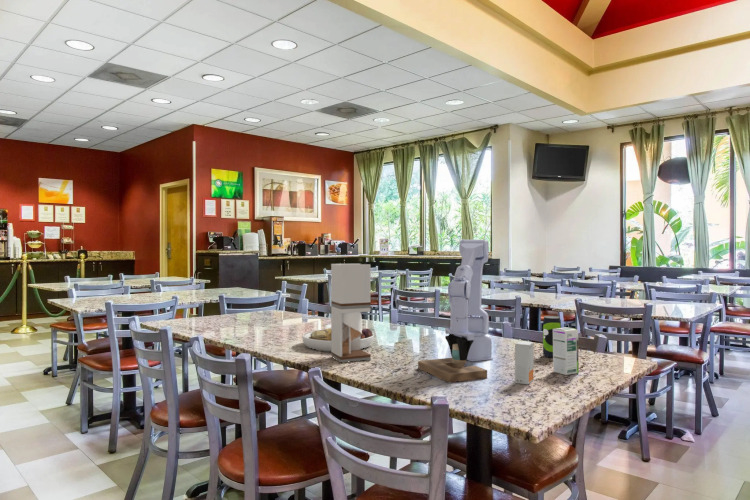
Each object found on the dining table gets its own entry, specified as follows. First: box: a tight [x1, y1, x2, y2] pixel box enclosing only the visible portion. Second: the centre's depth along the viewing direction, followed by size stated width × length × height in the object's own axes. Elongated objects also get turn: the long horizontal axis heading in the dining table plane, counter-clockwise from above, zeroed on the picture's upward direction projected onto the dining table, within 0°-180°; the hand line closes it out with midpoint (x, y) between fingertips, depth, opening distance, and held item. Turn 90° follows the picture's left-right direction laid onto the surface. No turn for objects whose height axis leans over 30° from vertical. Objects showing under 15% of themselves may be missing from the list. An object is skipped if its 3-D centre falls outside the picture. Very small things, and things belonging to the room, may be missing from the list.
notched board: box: [417, 357, 488, 383], centre depth 168 cm, size 14×20×2 cm
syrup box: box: [552, 327, 580, 376], centre depth 168 cm, size 6×6×14 cm
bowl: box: [301, 327, 375, 352], centre depth 215 cm, size 30×30×8 cm
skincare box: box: [514, 340, 535, 385], centre depth 157 cm, size 6×4×12 cm
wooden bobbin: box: [451, 344, 467, 365], centre depth 169 cm, size 5×5×6 cm
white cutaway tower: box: [330, 263, 372, 363], centre depth 189 cm, size 11×11×35 cm
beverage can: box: [542, 315, 562, 359], centre depth 193 cm, size 6×6×15 cm
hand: (459, 358), depth 169 cm, fingers closed on wooden bobbin, 5 cm apart
